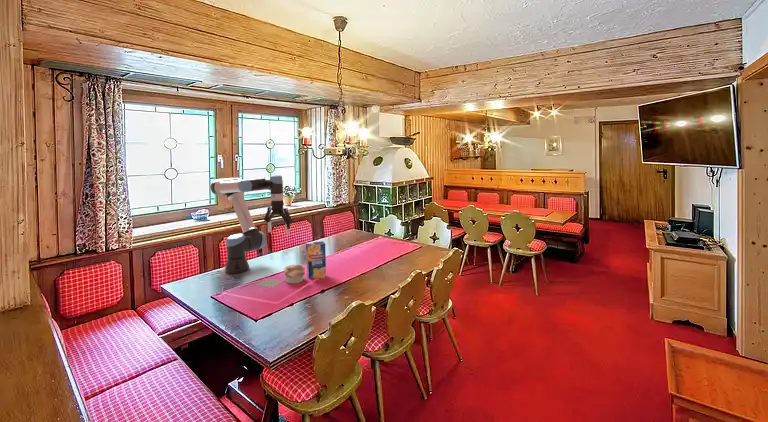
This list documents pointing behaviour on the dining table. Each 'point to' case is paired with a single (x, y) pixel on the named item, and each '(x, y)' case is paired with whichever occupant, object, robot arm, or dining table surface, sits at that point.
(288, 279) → the bowl
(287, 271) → the lid
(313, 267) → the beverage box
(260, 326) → the dining table surface
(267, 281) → the mat
